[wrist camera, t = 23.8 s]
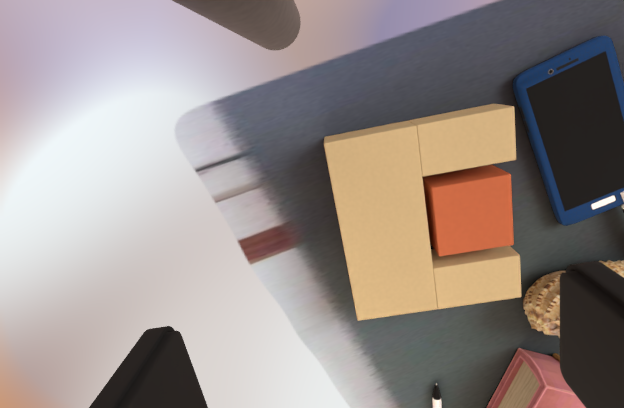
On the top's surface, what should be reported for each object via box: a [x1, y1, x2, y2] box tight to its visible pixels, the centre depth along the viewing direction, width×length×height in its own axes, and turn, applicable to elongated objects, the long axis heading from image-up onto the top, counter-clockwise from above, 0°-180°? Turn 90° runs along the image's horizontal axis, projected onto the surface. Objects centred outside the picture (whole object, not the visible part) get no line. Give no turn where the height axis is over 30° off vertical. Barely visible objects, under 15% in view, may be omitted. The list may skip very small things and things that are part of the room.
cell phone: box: [513, 36, 624, 226], centre depth 30 cm, size 7×14×1 cm, turn 27°
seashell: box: [523, 260, 624, 338], centre depth 33 cm, size 8×6×10 cm
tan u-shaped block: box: [324, 104, 521, 321], centre depth 32 cm, size 16×14×4 cm
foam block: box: [422, 165, 514, 256], centre depth 31 cm, size 6×6×4 cm
